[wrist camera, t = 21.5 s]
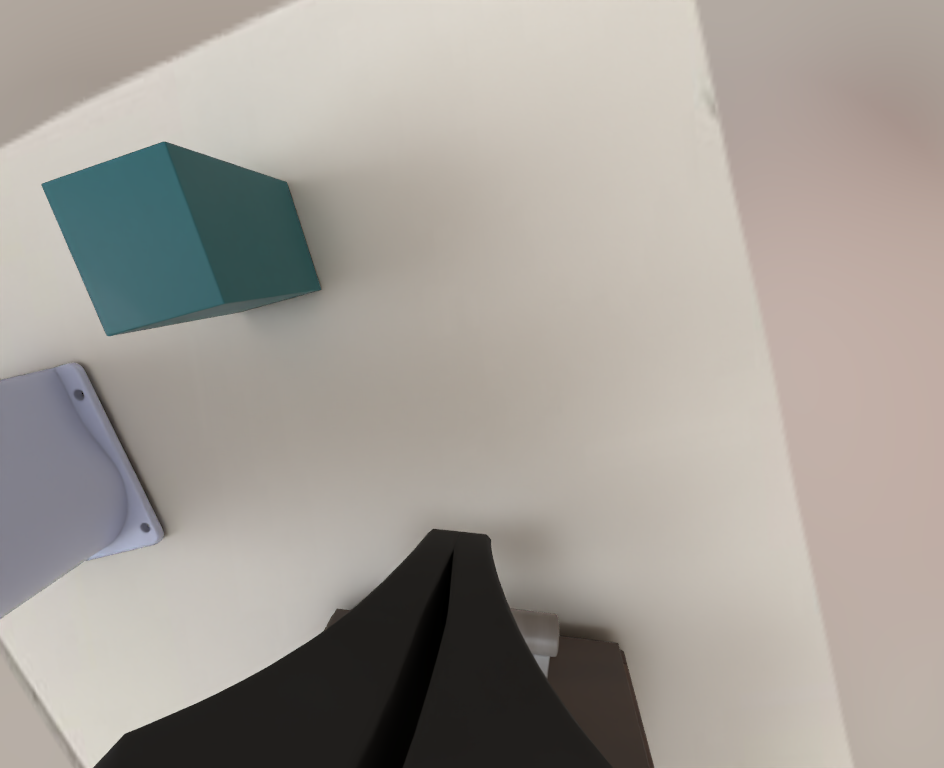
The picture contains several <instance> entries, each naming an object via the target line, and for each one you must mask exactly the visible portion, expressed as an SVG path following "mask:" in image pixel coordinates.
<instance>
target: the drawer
mask: <svg viewBox="0 0 944 768" xmlns="http://www.w3.org/2000/svg"><path fill="white" fill-rule="evenodd" d="M510 610H511V612H512V614H513V617H514V619H515V621H516V623H517V625H518V628H519V630H520V632H521V634H522V636H523V638H524V640H525V642H526V643H527V645H528V647H529V649H530V651H531V653H532V654H533V656H534V658H535V660H536V661H537V663H538V665H539V667H540V668H541V670H542V671H543V673H544V675H545V676H546V678H547V680H548V681H549V683H550V684H551V686H552V688H553V689H554V691H555V692H556V693H557V695H558V696H559V698H560V699H561V700H562V702H563V703H564V705H565V706H566V707H567V709H568V710H569V711H570V713H571V714H572V716H573V717H574V718H575V720H576V721H577V723H578V724H579V725H580V727H581V728H582V730H583V731H584V732H585V734H586V735H587V736H588V737H589V739H590V740H591V741H592V742H593V744H594V745H595V746H596V747H597V748H598V750H599V751H600V752H601V753H602V755H603V756H604V757H605V758H606V760H607V761H608V762H609V763H610V764H611V766H612V767H613V768H650V767H649V763H648V759H647V755H646V751H645V747H644V743H643V739H642V735H641V731H640V727H639V723H638V720H637V716H636V712H635V708H634V704H633V700H632V696H631V692H630V688H629V684H628V680H627V676H626V672H625V668H624V664H623V660H622V656H621V652H620V648H619V644H618V643H613V642H605V641H597V640H588V639H580V638H572V637H564V636H559V619H558V615H556V614H552V613H543V612H535V611H526V610H518V609H510ZM349 611H351V610H343V609H336V611H335V613H334V615H333V617H332V618H331V620H330V622H329V624H328V626H327V628H329V627H330V626H331V625H333V624H334V623H335V622H337V621H338V620H339V619H341V618H342V617H343V616H344V615H346V614H347V613H348V612H349ZM327 628H326V629H327Z"/></svg>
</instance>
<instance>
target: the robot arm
mask: <svg viewBox="0 0 944 768" xmlns="http://www.w3.org/2000/svg"><path fill="white" fill-rule="evenodd" d="M81 391H82V392H83V393H84V396H83V395H82V393H81ZM147 524H148V525H149V526H150V527H148V525H147ZM163 538H164V532H163V529H162V527H161V525H160V523H159V521H158V519H157V517H156V515H155V513H154V511H153V509H152V507H151V505H150V502H149V500H148V498H147V496H146V494H145V492H144V490H143V488H142V486H141V484H140V482H139V480H138V478H137V476H136V474H135V472H134V470H133V468H132V466H131V464H130V462H129V460H128V458H127V456H126V454H125V452H124V450H123V447H122V445H121V443H120V441H119V439H118V437H117V435H116V433H115V431H114V429H113V427H112V425H111V423H110V421H109V419H108V417H107V415H106V413H105V411H104V409H103V407H102V405H101V403H100V401H99V399H98V397H97V395H96V393H95V390H94V388H93V386H92V384H91V382H90V380H89V378H88V376H87V374H86V372H85V370H84V369H83V367H82V366H81V365H79V364H77V363H68V364H64V365H61V366H58V367H54V368H51V369H46V370H42V371H37V372H33V373H29V374H24V375H20V376H16V377H11V378H7V379H2V380H0V619H1V618H3V617H4V616H6V615H7V614H8V613H10V612H11V611H13V610H14V609H16V608H17V607H19V606H20V605H22V604H23V603H24V602H26V601H27V600H29V599H30V598H32V597H33V596H35V595H36V594H38V593H39V592H40V591H42V590H43V589H45V588H46V587H48V586H49V585H51V584H52V583H54V582H55V581H56V580H58V579H59V578H61V577H62V576H64V575H65V574H67V573H68V572H70V571H71V570H72V569H74V568H75V567H77V566H78V565H80V564H81V563H83V562H84V561H88V560H92V559H96V558H100V557H105V556H109V555H113V554H117V553H121V552H126V551H130V550H134V549H138V548H142V547H147V546H151V545H155V544H157V543H158V542H160V541H161V540H162V539H163ZM94 768H613V767H612V766H611V764H610V763H609V762H608V761H607V760H606V758H605V757H604V756H603V755H602V753H601V752H600V751H599V750H598V748H597V747H596V746H595V745H594V744H593V742H592V741H591V740H590V739H589V737H588V736H587V735H586V734H585V732H584V731H583V730H582V728H581V727H580V725H579V724H578V723H577V721H576V720H575V718H574V717H573V716H572V714H571V713H570V711H569V710H568V709H567V707H566V706H565V705H564V703H563V702H562V700H561V699H560V698H559V696H558V695H557V693H556V692H555V691H554V689H553V688H552V686H551V684H550V683H549V681H548V680H547V678H546V676H545V675H544V673H543V671H542V670H541V668H540V667H539V665H538V663H537V661H536V660H535V658H534V656H533V654H532V653H531V651H530V649H529V647H528V645H527V643H526V642H525V640H524V638H523V636H522V634H521V632H520V630H519V628H518V625H517V623H516V621H515V619H514V617H513V614H512V612H511V610H510V607H509V605H508V603H507V600H506V598H505V595H504V592H503V589H502V587H501V584H500V581H499V578H498V575H497V572H496V568H495V564H494V560H493V556H492V550H491V539H490V538H489V537H488V536H487V535H486V534H477V533H467V532H458V531H448V530H439V529H433V530H431V531H430V532H429V533H428V534H427V535H426V536H425V538H424V539H423V540H422V541H421V542H420V543H419V545H418V546H417V547H416V548H415V549H414V550H413V551H412V552H411V554H410V555H409V556H408V557H407V558H406V559H405V560H404V561H403V562H402V563H401V564H400V565H399V566H398V567H397V568H396V569H395V570H394V571H393V572H392V573H391V574H390V575H389V576H388V577H387V578H386V579H385V580H384V581H383V582H382V583H381V584H380V585H379V586H378V587H377V588H376V589H375V590H373V591H372V592H371V593H370V594H369V595H368V596H367V597H366V598H364V599H363V600H362V601H361V602H360V603H359V604H358V605H357V606H355V607H354V608H353V609H352V610H351V611H349V612H348V613H347V614H346V615H344V616H343V617H342V618H341V619H339V620H338V621H337V622H335V623H334V624H333V625H331V626H330V627H329V628H327V629H326V630H325V631H323V632H322V633H321V634H319V635H318V636H316V637H315V638H313V639H312V640H310V641H309V642H307V643H306V644H304V645H302V646H301V647H299V648H298V649H296V650H294V651H293V652H291V653H290V654H288V655H286V656H285V657H283V658H282V659H280V660H278V661H277V662H275V663H274V664H272V665H270V666H268V667H267V668H265V669H263V670H261V671H259V672H258V673H256V674H254V675H252V676H250V677H248V678H247V679H245V680H243V681H241V682H239V683H237V684H235V685H233V686H231V687H229V688H227V689H225V690H223V691H221V692H219V693H217V694H215V695H213V696H211V697H209V698H207V699H205V700H203V701H201V702H198V703H196V704H194V705H192V706H189V707H187V708H185V709H182V710H180V711H178V712H176V713H173V714H171V715H169V716H166V717H164V718H162V719H159V720H157V721H155V722H152V723H150V724H148V725H146V726H143V727H141V728H138V729H136V730H133V731H131V732H128V733H126V734H124V735H123V736H122V737H121V739H120V740H119V741H118V742H117V743H116V744H115V745H114V746H113V747H112V748H111V749H110V750H109V751H108V753H107V754H106V755H105V756H104V757H103V758H102V759H101V760H100V761H99V762H98V763H97V764H96V765H95V766H94Z"/></svg>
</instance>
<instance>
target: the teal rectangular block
mask: <svg viewBox="0 0 944 768" xmlns="http://www.w3.org/2000/svg"><path fill="white" fill-rule="evenodd" d="M42 187H43V190H44V192H45V194H46V197H47V199H48V201H49V203H50V206H51V208H52V210H53V213H54V215H55V217H56V220H57V222H58V224H59V227H60V229H61V231H62V234H63V236H64V238H65V240H66V243H67V245H68V247H69V250H70V252H71V254H72V257H73V259H74V261H75V264H76V266H77V268H78V270H79V273H80V275H81V277H82V280H83V282H84V284H85V287H86V289H87V291H88V294H89V296H90V298H91V300H92V303H93V305H94V307H95V310H96V312H97V314H98V317H99V319H100V321H101V324H102V326H103V328H104V331H105V333H106V335H107V336H113V335H118V334H124V333H129V332H135V331H140V330H146V329H151V328H156V327H162V326H167V325H173V324H178V323H184V322H189V321H195V320H200V319H205V318H211V317H216V316H222V315H227V314H233V313H238V312H242V311H246V310H249V309H253V308H257V307H260V306H264V305H268V304H271V303H275V302H279V301H282V300H286V299H290V298H293V297H297V296H301V295H304V294H308V293H312V292H315V291H319V290H321V287H320V284H319V281H318V278H317V275H316V271H315V268H314V265H313V262H312V259H311V256H310V253H309V250H308V247H307V244H306V240H305V237H304V234H303V231H302V228H301V225H300V222H299V219H298V216H297V213H296V209H295V206H294V203H293V200H292V197H291V194H290V191H289V188H288V185H287V182H285V181H282V180H279V179H276V178H273V177H270V176H267V175H264V174H261V173H258V172H255V171H252V170H249V169H246V168H243V167H240V166H237V165H234V164H231V163H228V162H225V161H222V160H219V159H216V158H213V157H210V156H207V155H204V154H201V153H198V152H195V151H192V150H189V149H186V148H183V147H180V146H177V145H174V144H171V143H168V142H161V143H158V144H155V145H152V146H150V147H147V148H144V149H141V150H138V151H135V152H132V153H129V154H126V155H124V156H121V157H118V158H115V159H112V160H109V161H106V162H103V163H100V164H97V165H95V166H92V167H89V168H86V169H83V170H80V171H77V172H74V173H71V174H69V175H66V176H63V177H60V178H57V179H54V180H51V181H48V182H45V183H43V184H42Z"/></svg>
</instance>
